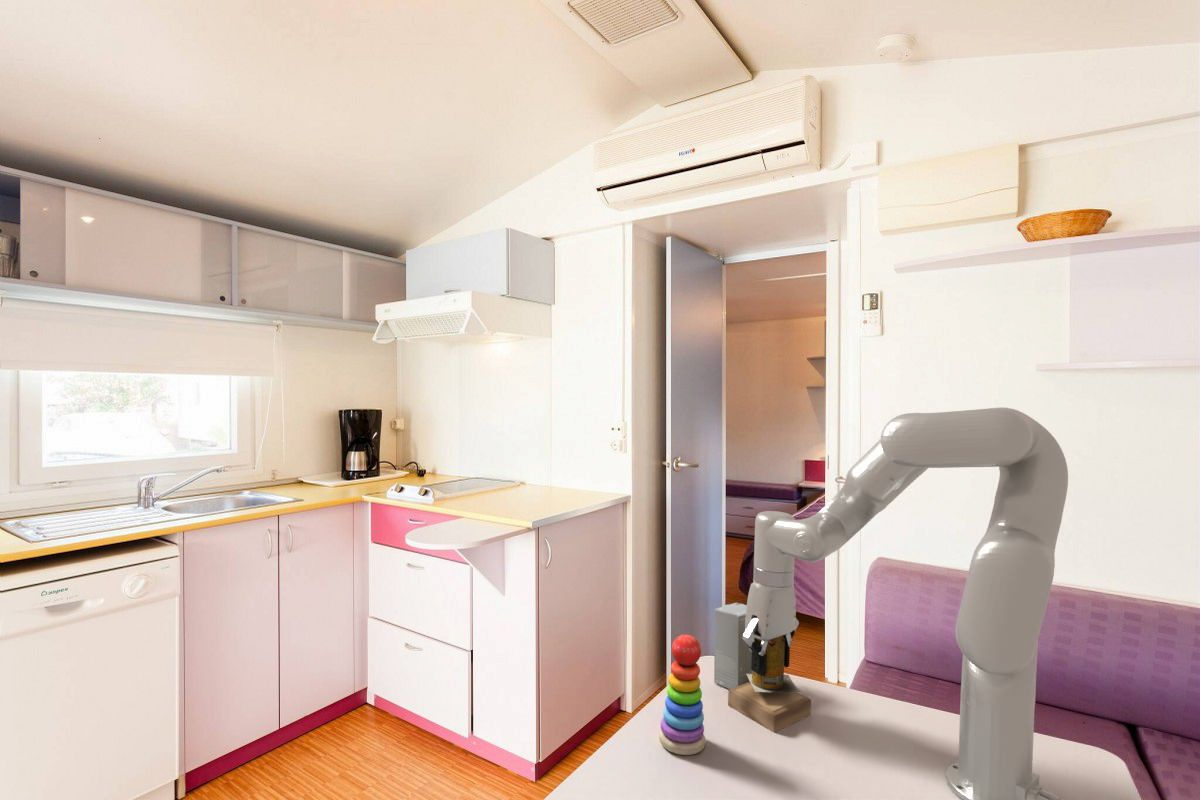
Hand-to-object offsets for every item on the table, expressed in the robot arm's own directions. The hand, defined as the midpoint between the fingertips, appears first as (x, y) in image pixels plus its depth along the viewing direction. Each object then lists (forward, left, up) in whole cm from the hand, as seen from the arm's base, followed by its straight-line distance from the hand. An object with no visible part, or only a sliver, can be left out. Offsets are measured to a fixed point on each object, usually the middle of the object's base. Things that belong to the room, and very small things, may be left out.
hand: (770, 667), depth 115 cm
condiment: (0, -1, -3) cm, 4 cm away
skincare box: (+11, -3, -8) cm, 14 cm away
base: (0, 0, -8) cm, 8 cm away
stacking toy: (+1, +22, -8) cm, 24 cm away
